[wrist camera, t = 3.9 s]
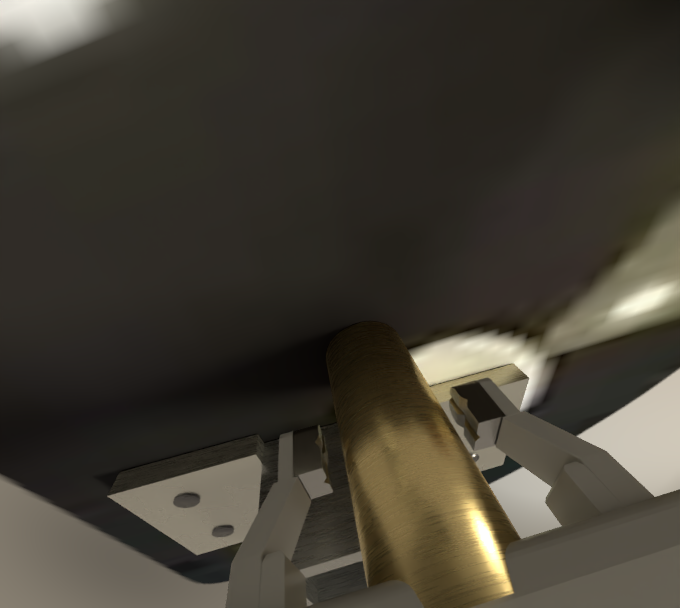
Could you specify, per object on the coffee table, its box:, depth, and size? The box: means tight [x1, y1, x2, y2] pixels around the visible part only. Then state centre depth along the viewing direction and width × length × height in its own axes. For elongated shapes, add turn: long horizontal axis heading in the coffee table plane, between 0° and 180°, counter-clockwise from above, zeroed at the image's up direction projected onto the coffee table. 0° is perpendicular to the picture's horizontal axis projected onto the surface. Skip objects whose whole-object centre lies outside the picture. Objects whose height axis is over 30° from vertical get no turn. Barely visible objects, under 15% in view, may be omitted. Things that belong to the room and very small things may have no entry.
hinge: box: [107, 364, 529, 606], centre depth 15 cm, size 10×24×6 cm, turn 101°
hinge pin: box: [326, 321, 521, 608], centre depth 10 cm, size 4×4×9 cm
